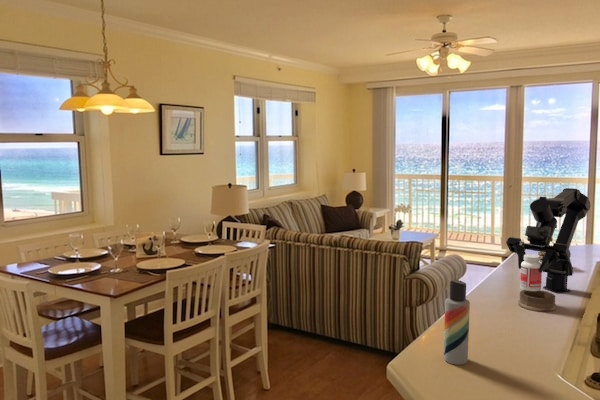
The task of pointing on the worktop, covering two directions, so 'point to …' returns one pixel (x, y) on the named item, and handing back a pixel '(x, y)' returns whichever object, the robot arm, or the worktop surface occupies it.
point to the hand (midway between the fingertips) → (529, 269)
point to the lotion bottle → (456, 324)
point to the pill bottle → (531, 273)
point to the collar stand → (537, 301)
